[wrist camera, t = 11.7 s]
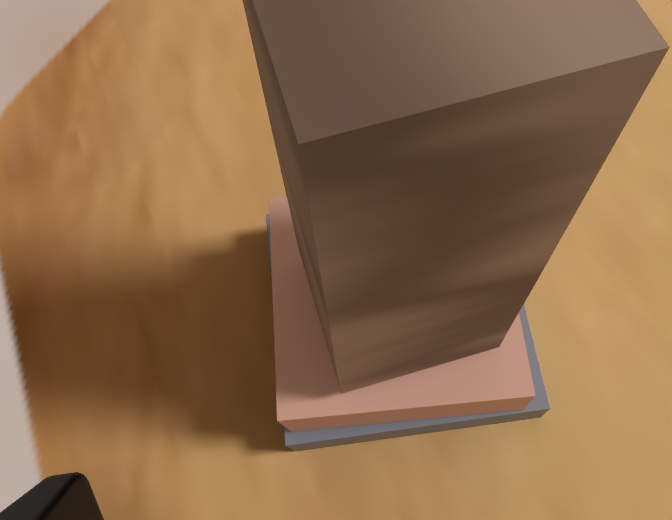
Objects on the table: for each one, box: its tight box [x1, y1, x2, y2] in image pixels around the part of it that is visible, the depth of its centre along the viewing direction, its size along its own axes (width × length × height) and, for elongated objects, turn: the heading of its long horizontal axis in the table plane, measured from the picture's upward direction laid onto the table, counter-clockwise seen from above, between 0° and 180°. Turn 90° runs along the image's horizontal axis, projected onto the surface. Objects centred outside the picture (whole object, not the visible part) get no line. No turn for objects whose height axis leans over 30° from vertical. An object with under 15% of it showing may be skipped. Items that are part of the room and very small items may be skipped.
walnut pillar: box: [243, 0, 669, 394], centre depth 13 cm, size 4×4×11 cm
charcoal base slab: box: [266, 214, 550, 451], centre depth 22 cm, size 8×8×2 cm
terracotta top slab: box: [269, 196, 536, 432], centre depth 19 cm, size 7×7×2 cm
